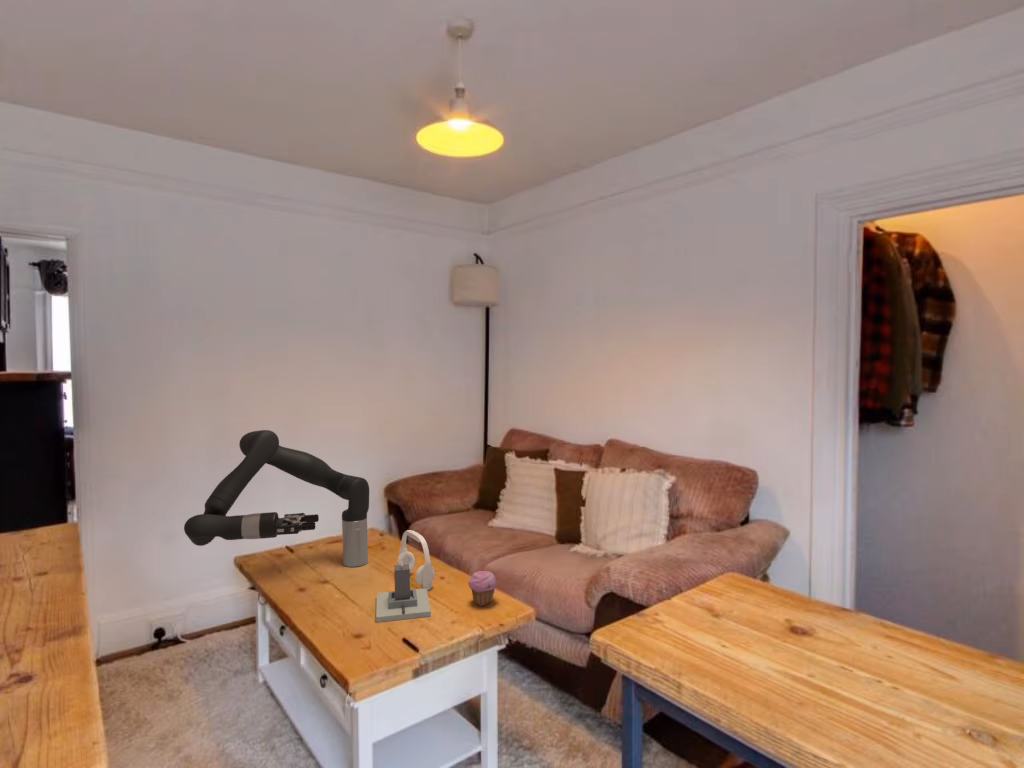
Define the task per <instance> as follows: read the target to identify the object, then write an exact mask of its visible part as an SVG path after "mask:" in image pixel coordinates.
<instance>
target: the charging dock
mask: <svg viewBox="0 0 1024 768" xmlns="http://www.w3.org/2000/svg"><path fill="white" fill-rule="evenodd" d="M375 604H376V611H375V616H376V617H375V621H376V623H383V622H391V621H401V620H408V619H418V618H427V617H431V615H432V610H431V605H430V600H429V596H428V590H427V589H426V588H423V587H422V588H410V599H407V600H397V601H395V590H390V591H384V592H376V603H375Z"/></svg>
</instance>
